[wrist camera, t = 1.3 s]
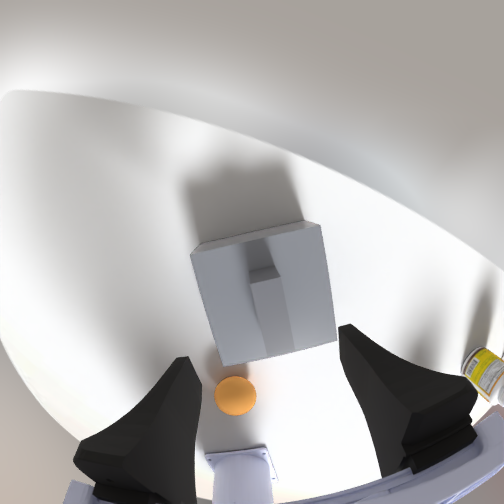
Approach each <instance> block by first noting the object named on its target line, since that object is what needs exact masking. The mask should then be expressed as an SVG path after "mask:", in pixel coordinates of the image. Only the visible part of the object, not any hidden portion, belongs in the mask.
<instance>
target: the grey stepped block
mask: <svg viewBox="0 0 504 504" xmlns="http://www.w3.org/2000/svg"><path fill="white" fill-rule="evenodd" d="M190 257H191V261H192V265H193V268H194V272H195V276H196V279H197V283H198V287H199V290H200V294H201V297H202V300H203V304H204V307H205V311H206V314H207V317H208V321H209V324H210V327H211V330H212V333H213V337H214V340H215V343H216V346H217V349H218V352H219V355H220V358H221V361H222V364H223V367H225V366H231V365H236V364H242V363H247V362H252V361H257V360H261V359H266V358H271V357H275V356H280V355H284V354H288V353H292V352H296V351H300V350H304V349H308V348H312V347H316V346H319V345H323V344H327V343H330V342H334V341H337V333H336V324H335V316H334V308H333V300H332V293H331V286H330V279H329V273H328V266H327V260H326V254H325V248H324V243H323V237H322V231H321V226H320V225H319V224H315V223H312V222H309V221H305V220H303V221H299V222H294V223H290V224H285V225H280V226H276V227H271V228H267V229H263V230H258V231H254V232H249V233H245V234H240V235H236V236H232V237H227V238H223V239H219V240H215V241H210V242H206V243H202V244H200V245H199V246H198V247H197V248H196V249H195V250H194V251H193V252H192V253H191V254H190Z"/></svg>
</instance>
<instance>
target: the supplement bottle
mask: <svg viewBox="0 0 504 504" xmlns="http://www.w3.org/2000/svg"><path fill="white" fill-rule="evenodd" d="M461 375H462V376H464V377H467V379H468V380H469V381H470V382H471V383H472V384H473V386H474V387H475V388H476V390H477V391H478V393H479V394H480V395H481V396H482V397H483V398H484V399H486V400H487V401H488V402H489V403H490V404H491V405H496V404H498V403H499V404H500V405H501V406H502V407H504V360H502V359H501V358H499V357H498V356H497V355H495V354H494V353H492V352H491V351H489V350H488V349H486V348H485V347H479V348H476V349H475V350H474V351H473V352H472V353H471V354H470V355H469V356H468V357H467V359H466V361H465V362H464V365H463V367H462V371H461Z"/></svg>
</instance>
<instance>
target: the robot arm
mask: <svg viewBox="0 0 504 504" xmlns="http://www.w3.org/2000/svg"><path fill="white" fill-rule="evenodd" d="M338 332H339V350H340V360H341V363H342V366H343V369H344V372H345V375H346V377H347V379H348V381H349V384H350V386H351V388H352V390H353V392H354V394H355V396H356V398H357V400H358V402H359V404H360V406H361V408H362V411H363V413H364V415H365V418H366V421H367V424H368V427H369V431H370V434H371V437H372V441H373V444H374V447H375V451H376V455H377V459H378V463H379V467H380V472H381V476H382V479H379V480H376V481H373V482H370V483H367V484H364V485H361V486H358V487H355V488H351V489H348V490H344V491H340V492H336V493H333V494H328V495H324V496H320V497H315V498H310V499H305V500H299V501H293V502H286V503H279V504H452V503H454V502H455V501H457V500H459V499H460V498H462V497H463V496H465V495H466V494H468V493H469V492H471V491H472V490H474V489H475V488H477V487H478V486H480V485H481V484H482V483H484V482H485V481H487V480H488V479H489V478H491V477H492V476H493V475H494V474H496V473H497V472H498V471H499V470H500V469H501V468H502V467H503V466H504V419H503V418H502V417H501V415H500V414H499V413H498V411H496V412H494V413H493V414H491V415H490V416H489V417H487V418H486V419H484V420H483V421H481V422H480V423H478V424H477V425H476V426H475V427H474V428H473V427H472V425H471V423H472V418H471V417H470V415H469V414H470V412H471V410H472V408H473V406H474V404H475V403H476V400H477V397H478V391H477V390H476V388H475V387H474V386H473V384H472V383H471V382H470V381H469V380H468V379H467V377H464V376H457V375H450V374H444V373H440V372H436V371H432V370H429V369H426V368H423V367H420V366H417V365H415V364H412V363H410V362H408V361H406V360H404V359H402V358H399V357H398V356H396V355H394V354H392V353H391V352H389V351H387V350H386V349H384V348H383V347H381V346H380V345H378V344H377V343H375V342H374V341H372V340H371V339H370V338H368V337H367V336H366V335H364V334H363V333H362V332H361V331H359V330H358V329H357V328H356V327H354V326H353V325H352V324H347V325H344V326H340V327H338ZM201 401H202V384H201V382H200V380H199V378H198V376H197V374H196V372H195V370H194V367H193V365H192V363H191V361H190V359H189V357H188V356H187V357H178V358H176V359H175V361H174V362H173V363H172V364H171V366H170V367H169V368H168V369H167V371H166V372H165V373H164V375H163V376H162V377H161V378H160V380H159V381H158V382H157V383H156V385H155V386H154V387H153V388H152V389H151V390H150V391H149V393H148V394H147V395H146V396H145V397H144V398H143V399H142V400H141V401H140V402H139V403H138V404H137V405H136V406H135V407H134V408H133V409H132V410H131V411H129V412H128V413H127V414H126V415H124V416H123V417H122V418H120V419H119V420H118V421H116V422H115V423H114V424H112V425H110V426H109V427H107V428H106V429H104V430H102V431H100V432H99V433H97V434H95V435H93V436H90V437H88V438H86V439H84V440H82V441H81V442H80V444H79V447H78V449H77V451H76V454H75V456H74V458H73V462H74V464H75V465H76V467H77V468H79V470H81V471H82V472H83V473H84V474H85V475H87V476H88V477H89V478H91V479H92V480H93V481H95V482H96V484H95V487H93V486H91V485H89V484H86V483H82V482H79V481H76V480H71V482H70V485H69V488H68V491H67V493H66V496H65V499H64V502H63V504H197V500H196V489H195V461H194V460H195V440H196V433H197V427H198V421H199V415H200V409H201ZM205 459H206V461H207V462H208V464H209V465H210V467H211V468H212V470H213V472H214V486H213V500H212V504H274V501H273V493H272V484H271V483H276V482H278V478H277V475H276V473H275V470H274V467H273V464H272V462H271V459H270V456H269V453H268V450H267V448H265V447H262V448H256V449H249V450H241V451H233V452H224V453H213V454H206V455H205Z"/></svg>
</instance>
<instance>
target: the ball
mask: <svg viewBox="0 0 504 504" xmlns="http://www.w3.org/2000/svg"><path fill="white" fill-rule="evenodd" d="M214 398H215V402H216V404H217V406H218V407H219V409H220V410H222V411H223V412H224V413H226V414H229V415H234V416H237V415H242V414H245V413H247V412H248V411H250V410H251V409H252V407H253V406H254V404H255V402H256V391H255V388H254V386H253V385H252V384H251V383H250V382H249V381H248V380H247V379H245V378H242V377H238V376H232V377H228V378H225V379H224V380H222V381H221V382H220V383H219V384H218V385H217V387H216V389H215V393H214Z"/></svg>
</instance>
